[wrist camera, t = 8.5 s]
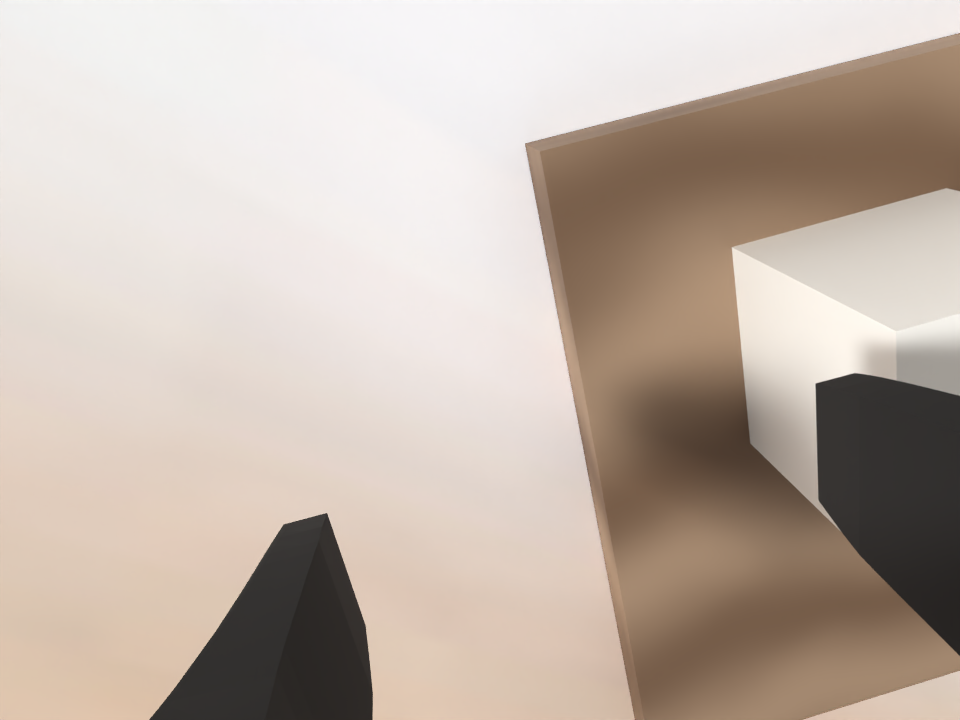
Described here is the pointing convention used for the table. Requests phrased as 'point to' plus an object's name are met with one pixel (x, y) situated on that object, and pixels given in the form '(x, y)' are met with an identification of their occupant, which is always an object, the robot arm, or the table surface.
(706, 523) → the board
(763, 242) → the plaster cube
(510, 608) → the table surface
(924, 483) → the robot arm
